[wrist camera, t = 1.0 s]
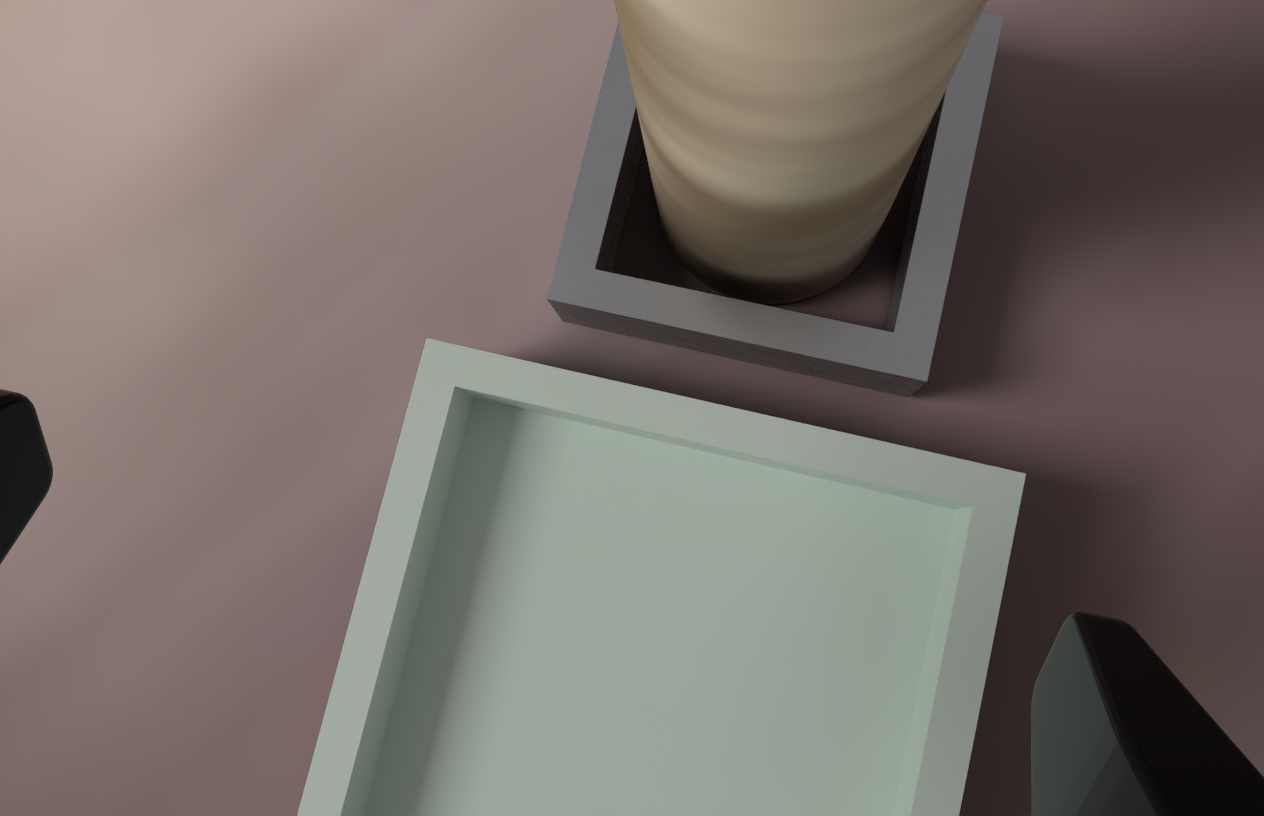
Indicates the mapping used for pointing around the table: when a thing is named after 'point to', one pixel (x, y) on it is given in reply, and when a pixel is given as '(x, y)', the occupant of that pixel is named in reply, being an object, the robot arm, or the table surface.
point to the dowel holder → (761, 330)
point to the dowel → (785, 127)
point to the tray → (659, 610)
